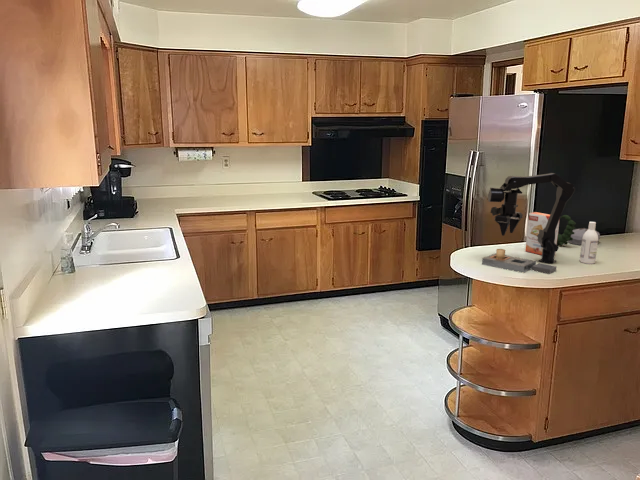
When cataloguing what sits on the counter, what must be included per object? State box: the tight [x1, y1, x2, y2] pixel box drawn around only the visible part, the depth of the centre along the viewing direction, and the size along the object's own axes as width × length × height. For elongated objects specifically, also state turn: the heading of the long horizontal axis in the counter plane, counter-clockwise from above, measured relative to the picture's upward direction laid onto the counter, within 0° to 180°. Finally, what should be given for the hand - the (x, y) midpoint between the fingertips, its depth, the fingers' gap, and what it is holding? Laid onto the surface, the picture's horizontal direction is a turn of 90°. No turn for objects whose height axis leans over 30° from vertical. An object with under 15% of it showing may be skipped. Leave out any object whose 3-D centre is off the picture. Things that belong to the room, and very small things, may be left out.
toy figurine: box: [557, 214, 577, 246], centre depth 294 cm, size 9×19×25 cm
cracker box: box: [524, 211, 561, 256], centre depth 269 cm, size 14×6×21 cm, turn 35°
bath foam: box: [579, 221, 599, 265], centre depth 254 cm, size 7×7×20 cm
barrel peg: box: [495, 248, 506, 259], centre depth 248 cm, size 4×4×7 cm
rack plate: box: [481, 253, 537, 273], centre depth 246 cm, size 14×20×3 cm
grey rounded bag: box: [567, 227, 601, 246], centre depth 299 cm, size 15×8×20 cm
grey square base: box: [531, 262, 557, 275], centre depth 239 cm, size 8×8×2 cm
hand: (507, 234), depth 254 cm, fingers open, 9 cm apart
